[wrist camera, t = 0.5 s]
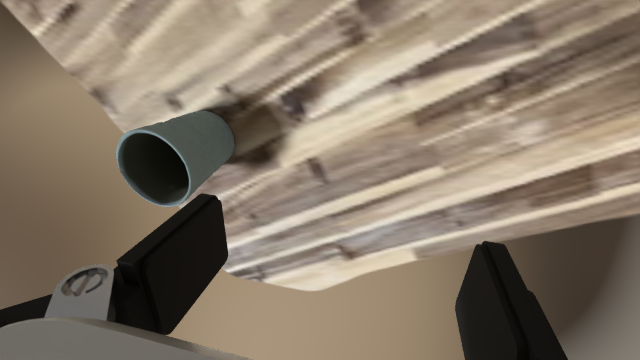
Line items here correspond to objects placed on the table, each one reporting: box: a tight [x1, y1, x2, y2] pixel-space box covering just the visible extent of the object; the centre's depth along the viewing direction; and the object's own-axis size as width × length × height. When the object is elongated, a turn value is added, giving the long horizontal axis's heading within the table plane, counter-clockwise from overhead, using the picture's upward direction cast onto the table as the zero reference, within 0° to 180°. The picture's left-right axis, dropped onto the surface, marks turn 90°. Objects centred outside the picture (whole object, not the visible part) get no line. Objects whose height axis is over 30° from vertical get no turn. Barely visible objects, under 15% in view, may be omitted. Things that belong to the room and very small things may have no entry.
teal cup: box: [116, 111, 235, 207], centre depth 40 cm, size 10×10×12 cm
